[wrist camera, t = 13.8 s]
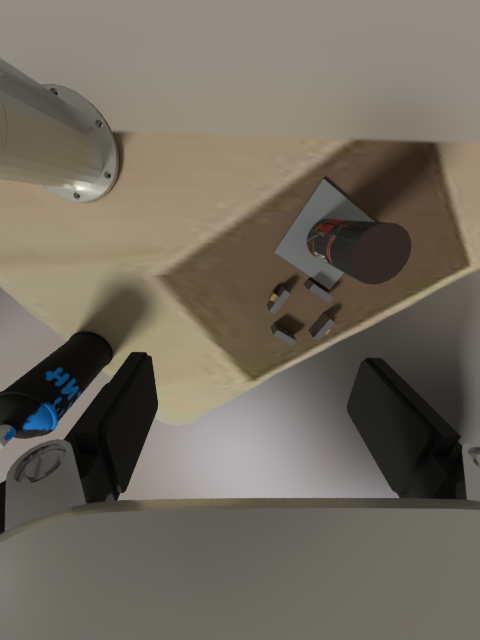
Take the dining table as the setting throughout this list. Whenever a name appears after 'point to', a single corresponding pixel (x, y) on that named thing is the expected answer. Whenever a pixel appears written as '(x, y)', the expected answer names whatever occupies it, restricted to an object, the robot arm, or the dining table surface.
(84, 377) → the aerosol can
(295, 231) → the coaster
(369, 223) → the deodorant
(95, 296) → the dining table surface
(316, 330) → the collar
